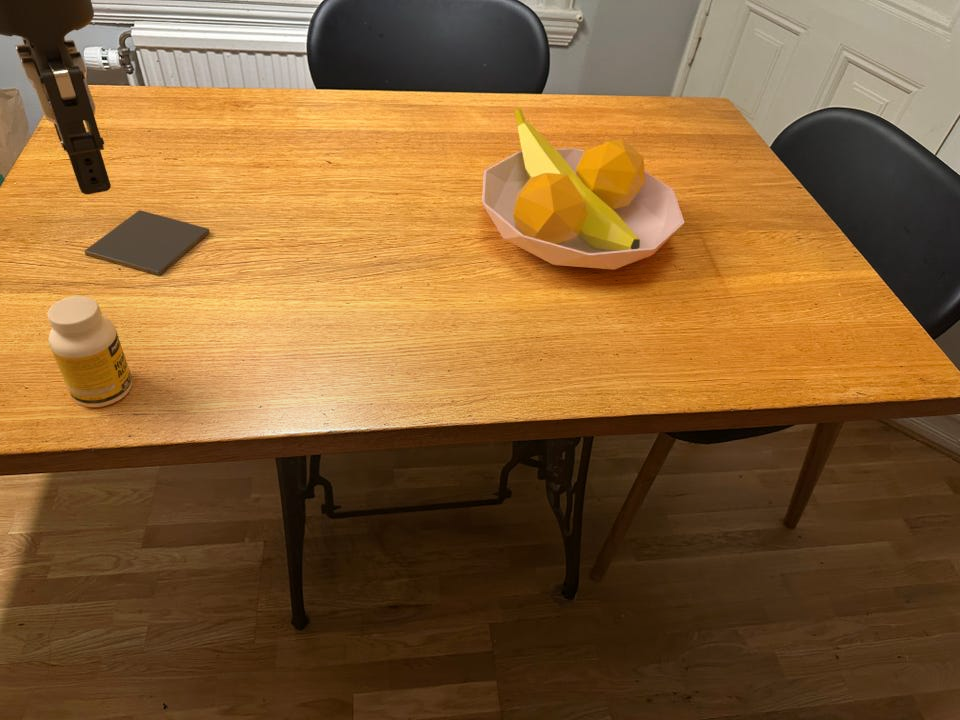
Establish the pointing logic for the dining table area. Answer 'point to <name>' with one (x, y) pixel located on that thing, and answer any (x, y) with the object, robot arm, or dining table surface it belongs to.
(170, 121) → the dining table surface
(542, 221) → the fruit bowl
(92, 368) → the supplement bottle
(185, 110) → the dining table surface
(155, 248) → the coaster
